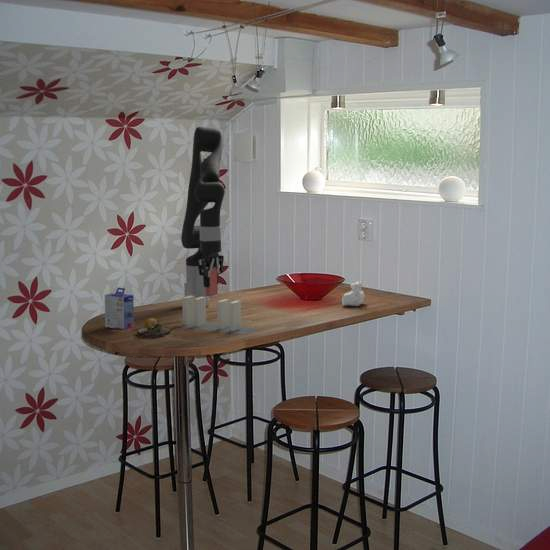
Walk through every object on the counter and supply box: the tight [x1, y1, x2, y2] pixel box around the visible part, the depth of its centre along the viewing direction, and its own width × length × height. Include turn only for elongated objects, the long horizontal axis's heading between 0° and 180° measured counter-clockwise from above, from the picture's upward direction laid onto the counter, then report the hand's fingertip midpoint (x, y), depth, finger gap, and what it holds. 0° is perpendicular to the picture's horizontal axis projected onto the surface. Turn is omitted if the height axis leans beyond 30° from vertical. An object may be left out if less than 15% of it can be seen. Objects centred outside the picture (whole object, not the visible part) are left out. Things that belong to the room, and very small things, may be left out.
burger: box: [136, 317, 172, 339], centre depth 266 cm, size 12×12×8 cm
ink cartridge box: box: [104, 287, 135, 330], centre depth 275 cm, size 10×6×14 cm, turn 58°
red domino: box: [205, 267, 219, 298], centre depth 273 cm, size 2×5×10 cm, turn 152°
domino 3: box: [216, 298, 230, 330], centre depth 272 cm, size 2×5×10 cm, turn 152°
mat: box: [176, 321, 261, 336], centre depth 274 cm, size 29×11×1 cm, turn 62°
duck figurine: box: [341, 281, 366, 307], centre depth 314 cm, size 12×8×11 cm
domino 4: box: [229, 300, 242, 331], centre depth 270 cm, size 2×5×10 cm, turn 152°
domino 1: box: [181, 295, 195, 325], centre depth 279 cm, size 2×5×10 cm, turn 152°
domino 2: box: [194, 297, 207, 327], centre depth 277 cm, size 2×5×10 cm, turn 152°
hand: (211, 285), depth 273 cm, fingers closed on red domino, 5 cm apart
